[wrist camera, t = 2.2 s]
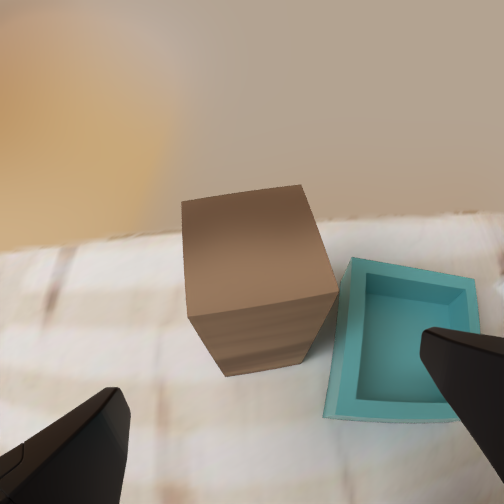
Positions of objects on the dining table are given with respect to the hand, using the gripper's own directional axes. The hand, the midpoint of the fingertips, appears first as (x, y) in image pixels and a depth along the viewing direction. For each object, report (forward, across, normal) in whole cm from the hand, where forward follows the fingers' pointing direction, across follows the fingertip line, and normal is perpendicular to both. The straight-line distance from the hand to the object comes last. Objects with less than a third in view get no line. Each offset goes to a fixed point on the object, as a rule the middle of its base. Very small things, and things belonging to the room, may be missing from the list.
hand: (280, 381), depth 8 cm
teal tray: (+9, -10, +7) cm, 15 cm away
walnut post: (+12, 0, +5) cm, 13 cm away
